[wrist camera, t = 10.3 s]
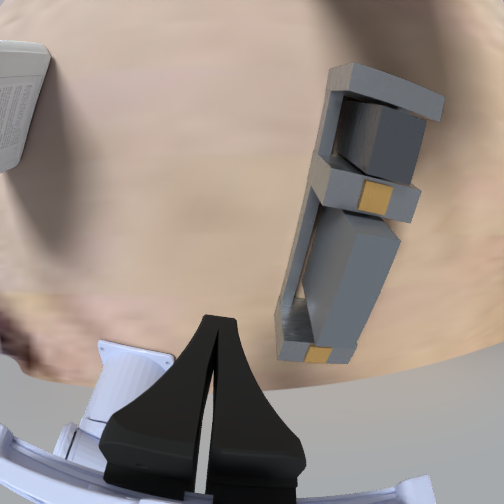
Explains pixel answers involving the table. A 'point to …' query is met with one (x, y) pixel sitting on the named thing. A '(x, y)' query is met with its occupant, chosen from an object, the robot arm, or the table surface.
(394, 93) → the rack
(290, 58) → the table surface
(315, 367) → the table surface
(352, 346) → the panel
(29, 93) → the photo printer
